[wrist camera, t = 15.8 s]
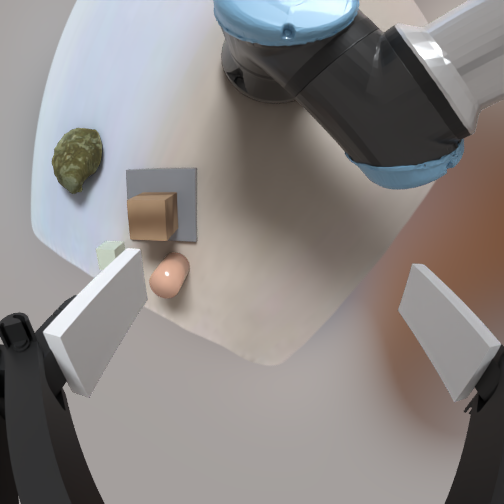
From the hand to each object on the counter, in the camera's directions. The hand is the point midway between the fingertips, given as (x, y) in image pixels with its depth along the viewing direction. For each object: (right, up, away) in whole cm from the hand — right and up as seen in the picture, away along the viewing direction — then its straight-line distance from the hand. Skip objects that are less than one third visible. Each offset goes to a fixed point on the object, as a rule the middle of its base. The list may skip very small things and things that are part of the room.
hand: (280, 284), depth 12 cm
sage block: (-27, +2, +35) cm, 44 cm away
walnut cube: (-16, +8, +31) cm, 36 cm away
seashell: (-31, +22, +28) cm, 47 cm away
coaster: (-16, +9, +31) cm, 36 cm away
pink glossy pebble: (-15, -1, +35) cm, 38 cm away
